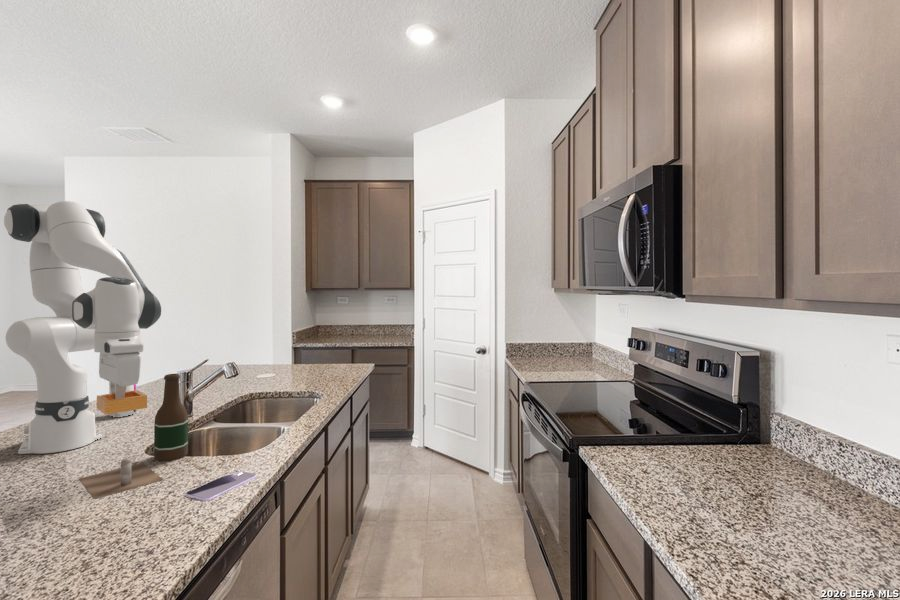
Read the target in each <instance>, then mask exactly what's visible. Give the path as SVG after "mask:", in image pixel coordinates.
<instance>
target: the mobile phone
mask: <svg viewBox="0 0 900 600" xmlns="http://www.w3.org/2000/svg"><path fill="white" fill-rule="evenodd" d="M256 478H258V475H257V474H256V473H253V472H248V471H243V470H235V473H230V474H227V475H224V476H221V477H218V478H216V479H215V480H211V481H210V482H207V483H205V484H202V485H201V486H199V487H196V488H194V489H191V490H189V491H187V492H186V493H185V495H184V497H186V498H189V499H193V500H197V501H201V502H208V501H212V500H213V499H216V498H217V497H220V496H222V495H224V494H226V493H228V492H229V491H232V490H234V489H236V488H238V487H240V486H242V485H244V484H246V483H248V482H251V481H252V480H253V479H254V480H255V479H256Z"/></svg>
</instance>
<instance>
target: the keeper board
mask: <svg viewBox="0 0 900 600" xmlns="http://www.w3.org/2000/svg"><path fill="white" fill-rule="evenodd" d="M78 480H79V481H80V483H82V486H84V488H85V489H86V491H87V492H88V493H89V494H90V496H91V497H92V498H93V499H94V500H97V499H101V498H105V497H108V496H111V495H114V494H119V493H122V492H126V491H129V490H133V489H137V488H140V487H144V486H148V485H151V484H154V483H159V482H162V481H164V479H163V478H162V477H161V475H159V474H157V473H156V472H155V471H154V470H152V469H151V468H150V467H149V466H148V465H146V464H145V463H144V462H141V463H137V464H134V465H133V464H132V459H131V458H129V457H126V458H123V459H122V460H121V461H120V468H116V469H113V470H109V471H103V472H99V473H95V474H93V475H88V476H84V477H79V478H78Z"/></svg>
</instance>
